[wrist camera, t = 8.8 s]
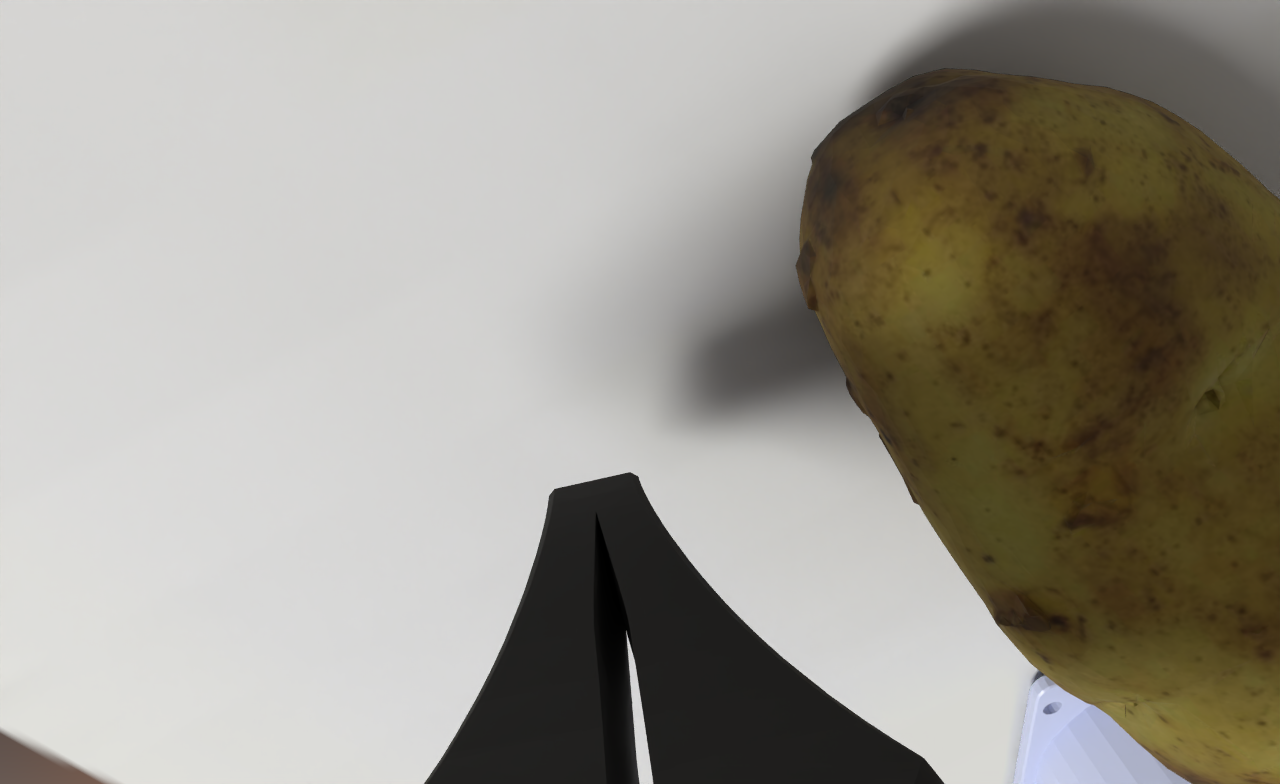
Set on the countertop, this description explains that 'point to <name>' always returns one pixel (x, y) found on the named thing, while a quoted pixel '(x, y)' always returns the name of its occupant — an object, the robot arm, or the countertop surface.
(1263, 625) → the potato
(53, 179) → the countertop surface
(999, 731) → the countertop surface
